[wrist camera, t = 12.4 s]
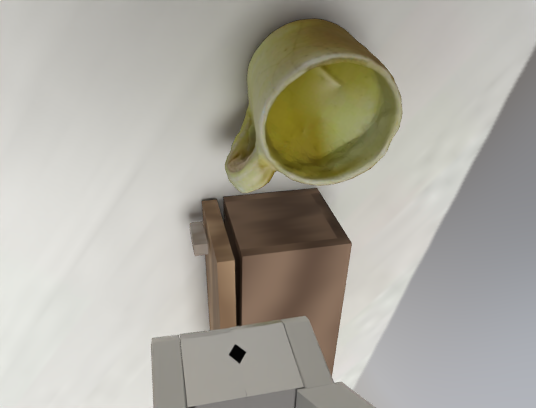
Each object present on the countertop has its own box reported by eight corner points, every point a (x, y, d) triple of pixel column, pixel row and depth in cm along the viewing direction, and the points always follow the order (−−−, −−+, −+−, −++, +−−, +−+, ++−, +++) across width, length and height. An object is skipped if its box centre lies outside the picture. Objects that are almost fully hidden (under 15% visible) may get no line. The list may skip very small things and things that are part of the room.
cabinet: (316, 188, 43) (351, 243, 37) (304, 317, 51) (331, 381, 45) (223, 196, 41) (242, 256, 35) (225, 329, 49) (241, 398, 43)
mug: (348, -41, 32) (399, 60, 26) (377, 73, 40) (421, 169, 35) (176, 38, 34) (189, 146, 29) (236, 130, 43) (256, 229, 37)
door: (217, 199, 41) (236, 260, 34) (224, 336, 49) (239, 406, 43) (186, 202, 41) (199, 265, 34) (198, 341, 49) (209, 412, 42)
